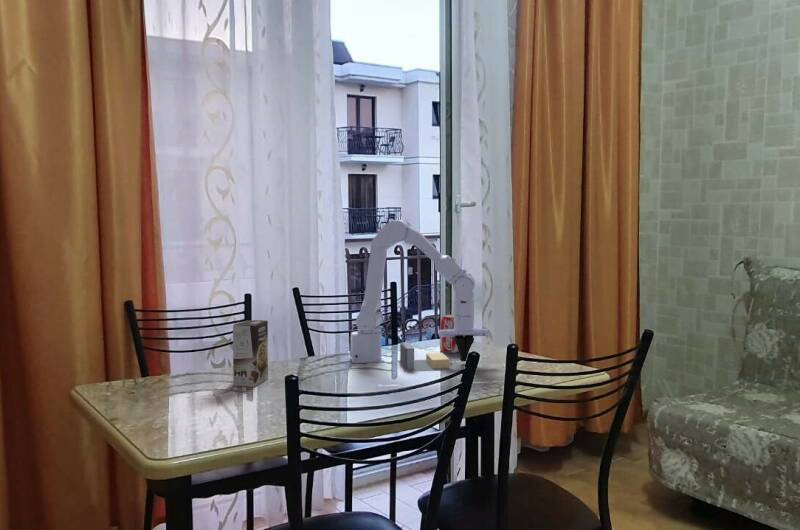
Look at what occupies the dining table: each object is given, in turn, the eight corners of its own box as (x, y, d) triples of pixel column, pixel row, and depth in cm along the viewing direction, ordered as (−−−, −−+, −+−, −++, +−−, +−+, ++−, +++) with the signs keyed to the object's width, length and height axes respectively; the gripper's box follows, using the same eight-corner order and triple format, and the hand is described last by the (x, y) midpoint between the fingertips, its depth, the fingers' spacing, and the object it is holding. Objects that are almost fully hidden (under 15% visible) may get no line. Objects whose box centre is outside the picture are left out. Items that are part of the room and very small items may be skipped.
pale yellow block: (432, 368, 199) (432, 360, 199) (426, 361, 208) (426, 353, 208) (449, 368, 200) (449, 359, 200) (442, 361, 209) (442, 352, 209)
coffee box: (255, 387, 179) (255, 325, 177) (232, 386, 180) (231, 324, 179) (269, 378, 188) (268, 319, 186) (247, 377, 189) (246, 319, 188)
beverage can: (438, 353, 221) (438, 316, 220) (443, 350, 227) (443, 313, 226) (457, 355, 219) (458, 317, 218) (461, 351, 225) (462, 314, 224)
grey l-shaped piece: (404, 372, 195) (404, 350, 195) (396, 361, 209) (397, 340, 209) (452, 371, 198) (453, 349, 197) (442, 360, 211) (442, 339, 211)
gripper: (442, 317, 199) (442, 364, 200) (491, 316, 201) (490, 363, 202) (437, 314, 206) (437, 359, 207) (485, 313, 208) (484, 357, 209)
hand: (463, 360), depth 205 cm, fingers closed
